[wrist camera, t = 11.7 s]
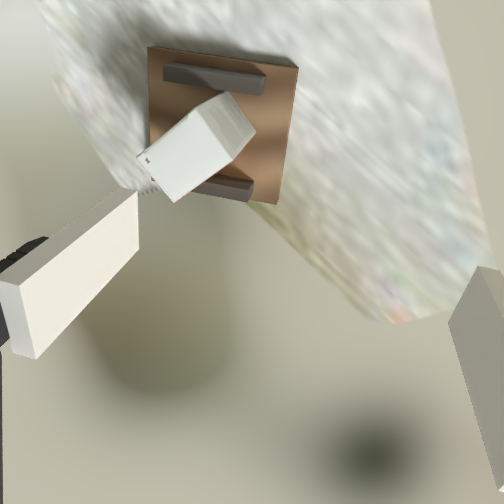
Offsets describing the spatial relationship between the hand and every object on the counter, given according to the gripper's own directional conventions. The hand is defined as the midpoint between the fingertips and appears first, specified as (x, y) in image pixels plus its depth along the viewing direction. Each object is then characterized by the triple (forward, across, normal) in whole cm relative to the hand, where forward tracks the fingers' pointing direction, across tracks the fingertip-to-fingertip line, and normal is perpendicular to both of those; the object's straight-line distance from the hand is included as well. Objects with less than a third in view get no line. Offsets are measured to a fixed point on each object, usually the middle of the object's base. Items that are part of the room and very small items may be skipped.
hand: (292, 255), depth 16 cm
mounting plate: (+32, -12, -5) cm, 34 cm away
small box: (+30, -12, -5) cm, 33 cm away
